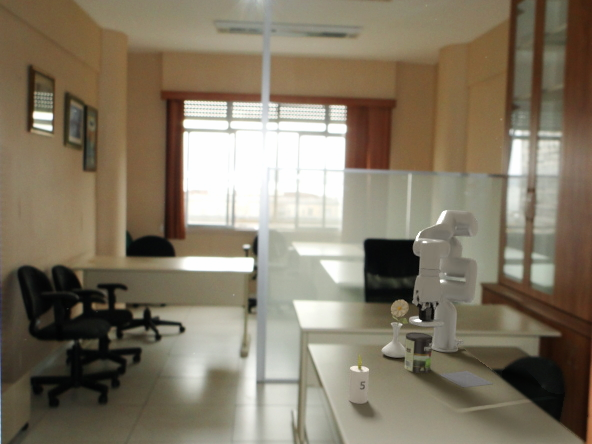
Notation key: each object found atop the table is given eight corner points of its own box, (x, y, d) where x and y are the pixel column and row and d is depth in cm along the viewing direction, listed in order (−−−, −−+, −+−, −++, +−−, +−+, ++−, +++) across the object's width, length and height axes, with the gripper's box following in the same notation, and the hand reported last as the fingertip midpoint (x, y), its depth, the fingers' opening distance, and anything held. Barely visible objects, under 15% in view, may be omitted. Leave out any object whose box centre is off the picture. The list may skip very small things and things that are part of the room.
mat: (467, 373, 207) (467, 371, 207) (493, 386, 194) (493, 383, 194) (438, 376, 201) (438, 374, 201) (462, 390, 188) (462, 387, 188)
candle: (352, 404, 171) (355, 359, 171) (345, 396, 178) (347, 353, 177) (370, 403, 173) (373, 358, 172) (363, 395, 179) (365, 352, 179)
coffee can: (434, 370, 208) (436, 335, 207) (423, 377, 200) (426, 341, 199) (410, 364, 214) (412, 330, 213) (399, 370, 206) (401, 335, 205)
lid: (429, 317, 213) (429, 302, 213) (450, 326, 201) (451, 310, 201) (402, 320, 208) (403, 304, 208) (423, 328, 196) (424, 312, 196)
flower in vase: (376, 353, 228) (379, 296, 226) (397, 350, 233) (401, 294, 231) (393, 362, 216) (397, 302, 215) (416, 359, 221) (419, 301, 219)
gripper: (439, 270, 210) (437, 315, 211) (405, 271, 203) (402, 318, 205) (452, 273, 203) (449, 320, 205) (417, 275, 197) (414, 323, 198)
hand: (426, 319), depth 205 cm, fingers closed on lid, 3 cm apart
